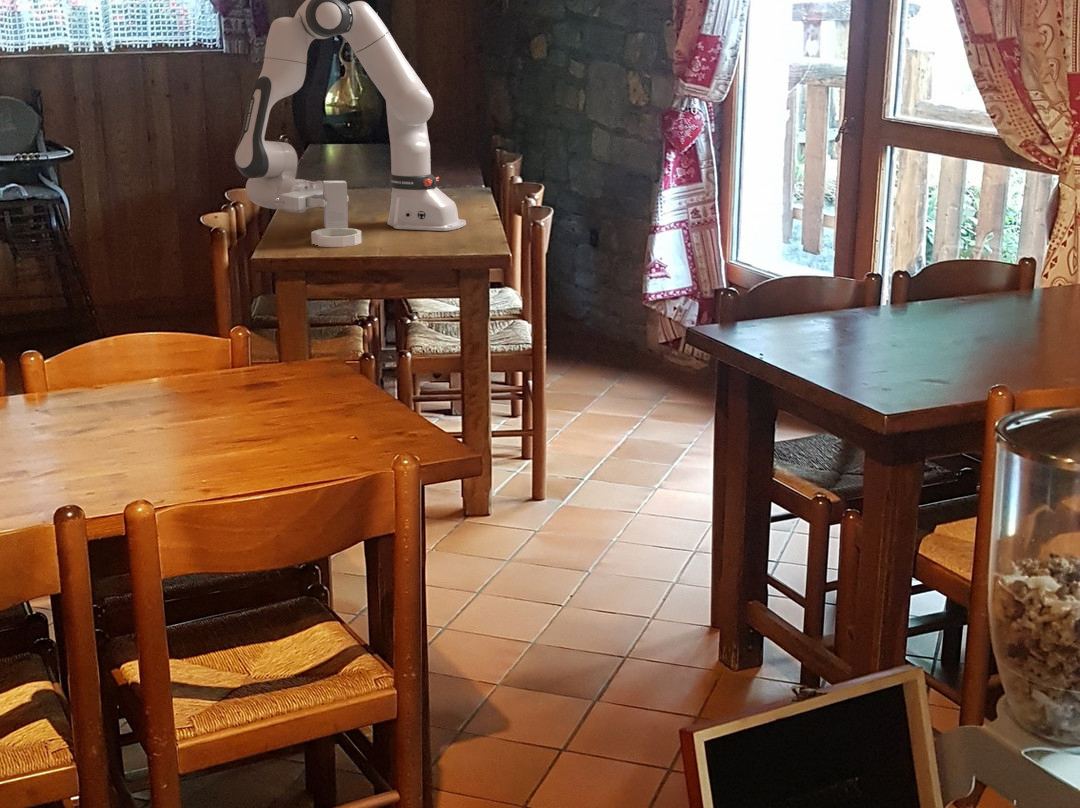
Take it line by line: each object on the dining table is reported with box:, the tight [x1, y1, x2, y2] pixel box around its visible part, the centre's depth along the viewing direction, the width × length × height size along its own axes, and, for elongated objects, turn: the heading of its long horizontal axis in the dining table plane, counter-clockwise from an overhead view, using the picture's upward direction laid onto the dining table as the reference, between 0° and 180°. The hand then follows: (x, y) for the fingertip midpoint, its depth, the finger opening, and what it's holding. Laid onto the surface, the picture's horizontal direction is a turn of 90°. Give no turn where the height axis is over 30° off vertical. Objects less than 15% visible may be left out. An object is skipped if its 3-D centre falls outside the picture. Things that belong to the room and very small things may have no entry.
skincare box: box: [322, 180, 349, 229], centre depth 324 cm, size 6×4×12 cm
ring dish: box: [310, 227, 363, 248], centre depth 327 cm, size 13×13×3 cm
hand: (336, 201), depth 323 cm, fingers closed on skincare box, 7 cm apart
